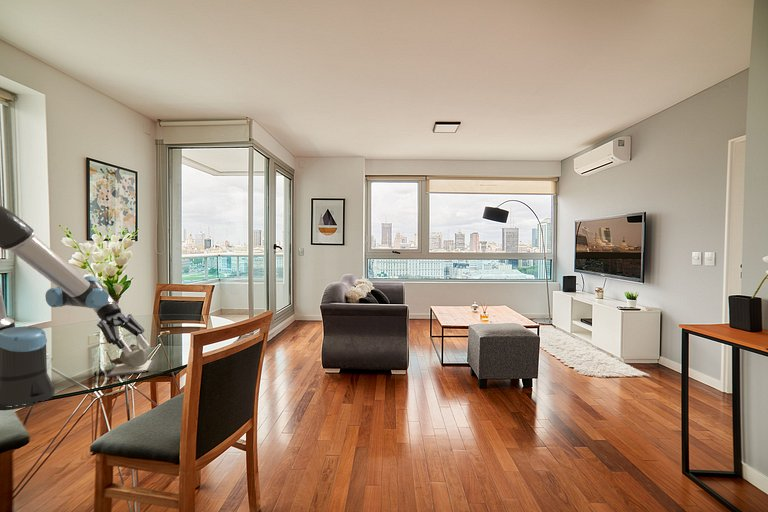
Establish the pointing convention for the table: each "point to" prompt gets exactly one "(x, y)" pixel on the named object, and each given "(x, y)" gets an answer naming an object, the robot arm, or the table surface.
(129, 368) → the linen sheet mat
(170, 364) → the table surface
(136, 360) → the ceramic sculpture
